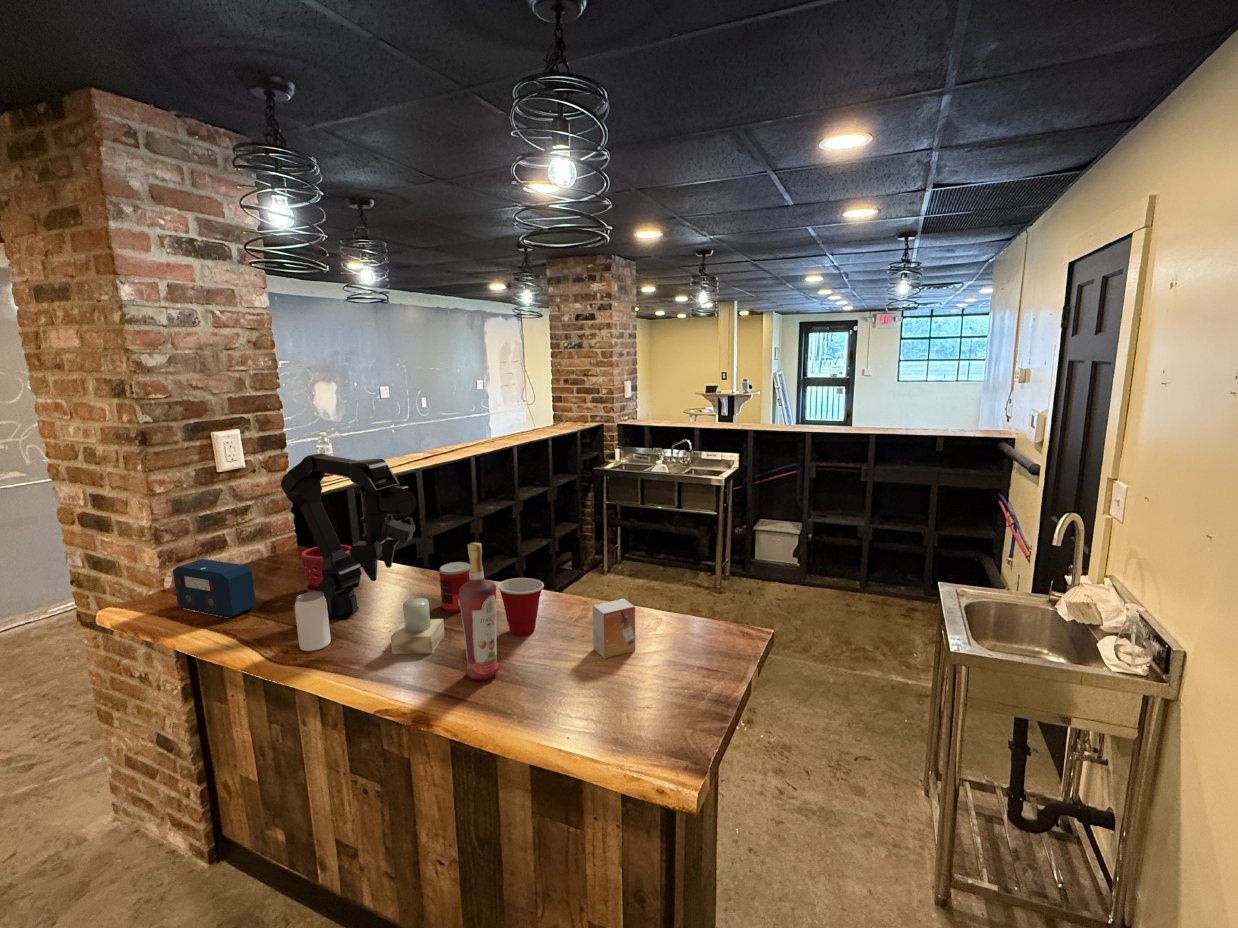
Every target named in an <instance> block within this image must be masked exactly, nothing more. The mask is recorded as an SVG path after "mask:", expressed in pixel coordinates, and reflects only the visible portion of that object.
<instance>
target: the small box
mask: <svg viewBox="0 0 1238 928" xmlns="http://www.w3.org/2000/svg"><path fill="white" fill-rule="evenodd" d="M592 637H593V638H592V640H593V641H592V648H593V650H594V651H595V652H596V653H598V654H599V655H600V656H601V657H602V658H603V659H607V658H611V657H615V656H618V655H623V654H627V653H633V652H636V606H634V605H633V604H632V603H630V602H629V601H628V600H627V599H625V598H620V599H615V600H612V601H607V602H603V603H597V604H596V603H595V604H592Z"/></svg>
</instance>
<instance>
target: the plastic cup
mask: <svg viewBox="0 0 1238 928" xmlns="http://www.w3.org/2000/svg"><path fill="white" fill-rule="evenodd" d="M544 587H545V585H544V582H542V581H541V580H539V579H535V578H530V577H529V578H527V577H516V578H509V579H505V580H502V581H500V582H499V583H498V584H497V589H498V590H499V592H500V595H501V600H502V602H503V607H504V612H505V616H506V621H507V623H508V629H509V632H510V634H511V635H512V636H514V637H527V636H530V635H531V634H533V633H534V632H535V629H536V624H537V619H538V611H539V604H540V598H541V594H542V590H543V589H544Z"/></svg>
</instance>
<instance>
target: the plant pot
mask: <svg viewBox="0 0 1238 928" xmlns="http://www.w3.org/2000/svg"><path fill="white" fill-rule="evenodd" d="M341 547H342V549H343V551H345V552H346V553H348V554H349V549H350V548H351V547H352V546H350V545H346V544H341ZM349 555H350V554H349ZM300 558H301V567H302V571H303V575H304V577H305V580H306V582H307V583H308V584H307V585H306V588H305V589H306V591H307V593H308V592H317V589H316V588H317V587H318V586H319V584H320V583H321V582H322V580H323V575H322V572H321V570H322V564H323V558H322V555H321V553H320V551H319V549H318V546H315V547H311V548H308V549H305V550H303V551H302V552H301V557H300Z"/></svg>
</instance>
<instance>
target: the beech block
mask: <svg viewBox="0 0 1238 928" xmlns="http://www.w3.org/2000/svg"><path fill="white" fill-rule="evenodd" d="M444 623H445V622H444V618H430V628H429V629H428V630H426V631H423V632H419V633H409V632H406V631H405V622H404V621H403V622H402V623H401V624H400V625H399V627H398V628H396V630H395V631H394V632H393V634H392V635H391V636H390V645H391V654H392V655H395V654H397V655H398V654H409V655H412V654H433V653H434V651H435V650H436V649H437V647H438V646H439V644H440V642H441V641H442V639H443V638H444V636H445V625H444Z"/></svg>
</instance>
